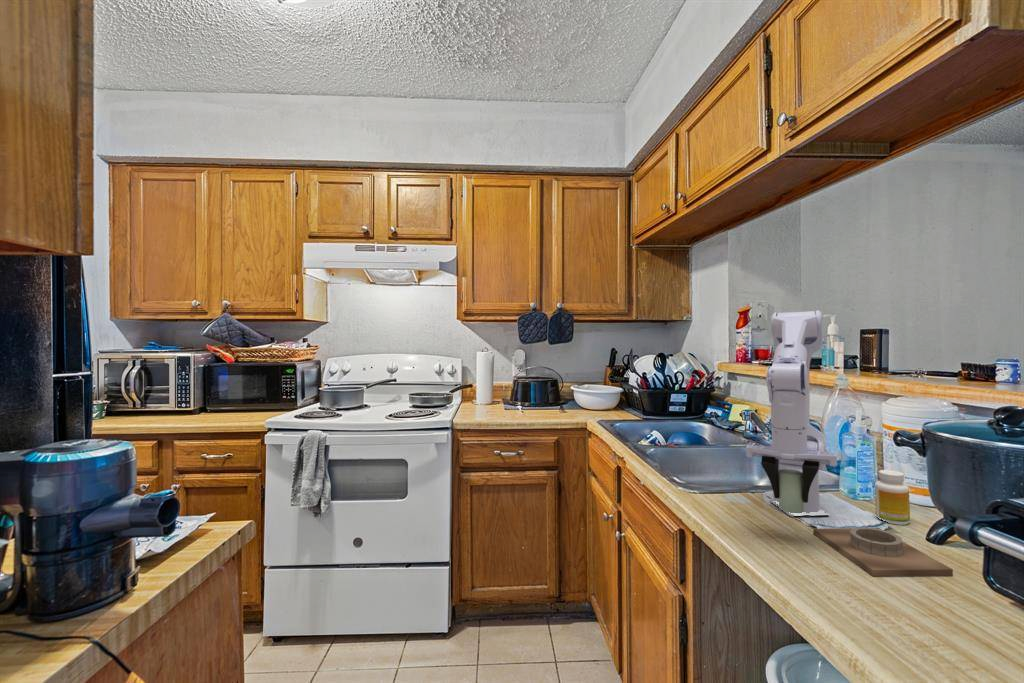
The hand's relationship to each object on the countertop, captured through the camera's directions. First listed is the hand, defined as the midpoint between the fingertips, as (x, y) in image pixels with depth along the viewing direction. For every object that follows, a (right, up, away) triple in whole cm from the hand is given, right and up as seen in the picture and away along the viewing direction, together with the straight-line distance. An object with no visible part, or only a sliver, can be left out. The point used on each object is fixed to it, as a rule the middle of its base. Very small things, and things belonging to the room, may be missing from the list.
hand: (791, 498), depth 88 cm
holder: (+11, -7, -7) cm, 15 cm away
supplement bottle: (+25, -7, +7) cm, 26 cm away
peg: (0, -2, 0) cm, 2 cm away
